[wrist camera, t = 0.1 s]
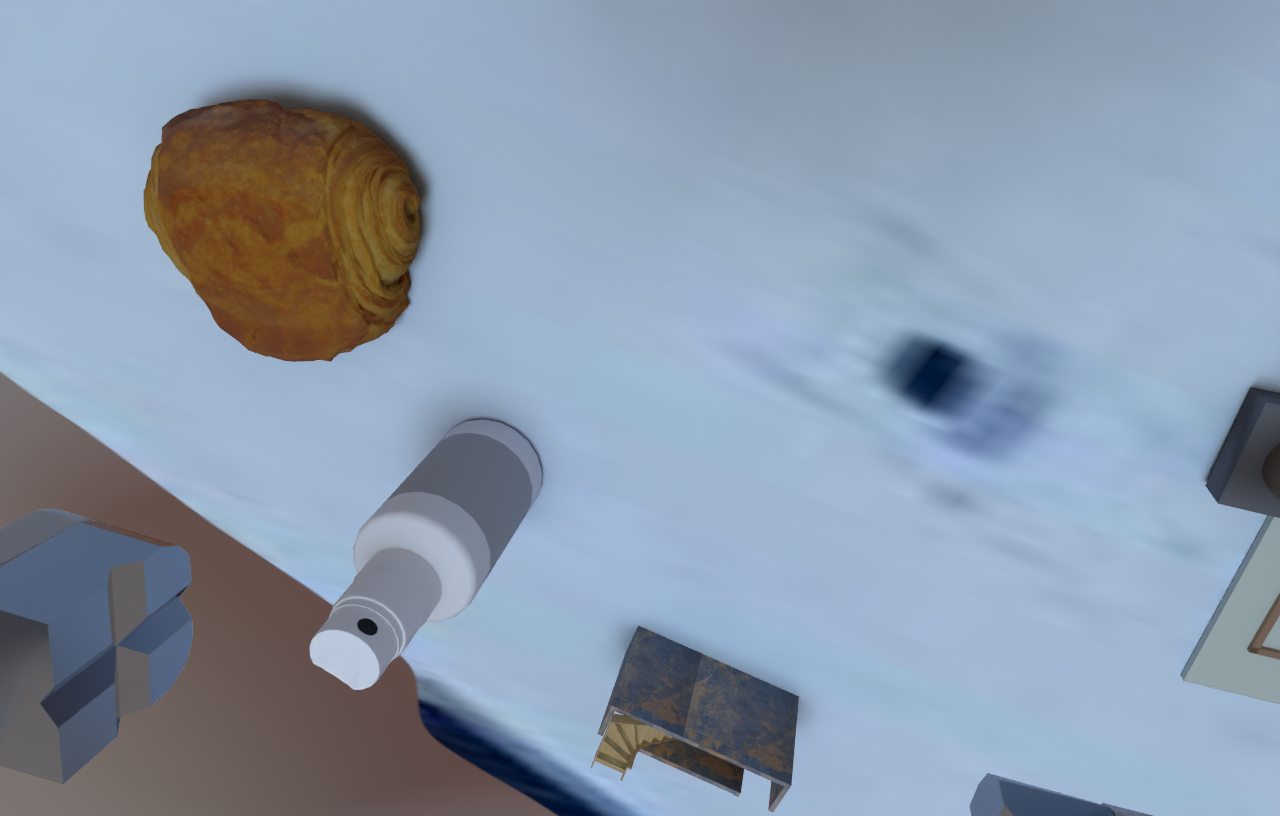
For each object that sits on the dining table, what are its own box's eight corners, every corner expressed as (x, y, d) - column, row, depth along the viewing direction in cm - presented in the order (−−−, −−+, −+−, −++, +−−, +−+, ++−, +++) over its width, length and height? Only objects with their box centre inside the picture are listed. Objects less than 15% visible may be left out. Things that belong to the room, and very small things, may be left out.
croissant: (200, 81, 51) (75, 90, 44) (435, 108, 46) (337, 123, 40) (233, 319, 57) (128, 360, 50) (444, 364, 52) (360, 415, 46)
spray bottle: (563, 459, 54) (441, 658, 38) (511, 532, 57) (378, 743, 41) (470, 395, 53) (306, 570, 38) (422, 472, 57) (253, 662, 41)
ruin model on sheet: (625, 653, 60) (586, 765, 51) (640, 621, 58) (602, 731, 50) (779, 722, 60) (766, 846, 51) (798, 692, 58) (788, 814, 50)
